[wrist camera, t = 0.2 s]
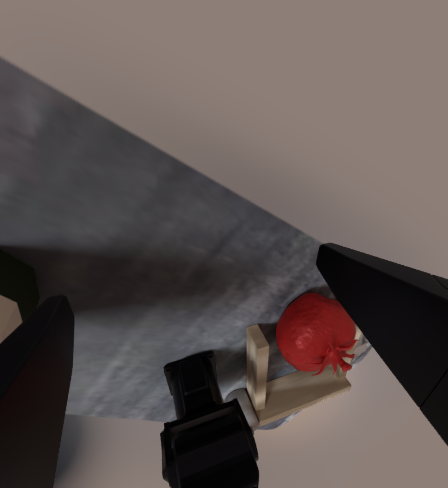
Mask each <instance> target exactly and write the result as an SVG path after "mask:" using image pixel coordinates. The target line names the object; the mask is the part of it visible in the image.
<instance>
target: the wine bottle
mask: <svg viewBox="0 0 448 488" xmlns="http://www.w3.org/2000/svg"><path fill="white" fill-rule="evenodd" d="M39 298H40V297H39V293H38V289H37V284H36V280H35V276H34V271H33V268H32V267H30V266H28V265H26V264H25V263H23V262H21V261H19V260H17V259H16V258H14V257H12V256H10V255H8V254H7V253H5V252H3V251H1V250H0V343H1V342H2V341H3V340H4V339H5V338H6V337H7V336H9V335H10V334H11V333H12V332H13V331H14V330H15V329H16V328H17V327H18V326H19V325H20V324H21V323H22V322H23V321H24V320H25V319H26V318H27V317H28V316H29V315H31V314H32V313H33V312H34V311H35V309H36V306H37V303H38V301H39Z"/></svg>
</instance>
